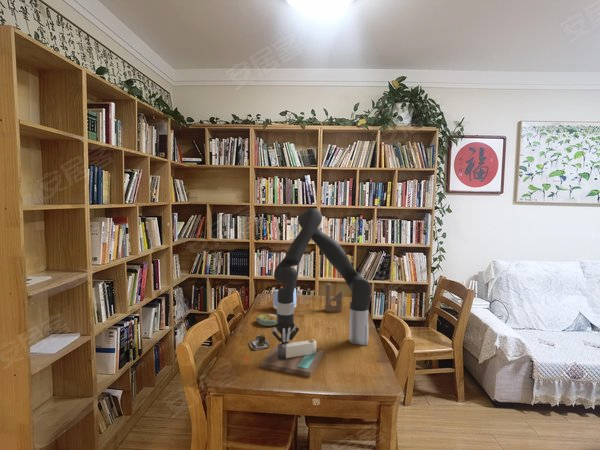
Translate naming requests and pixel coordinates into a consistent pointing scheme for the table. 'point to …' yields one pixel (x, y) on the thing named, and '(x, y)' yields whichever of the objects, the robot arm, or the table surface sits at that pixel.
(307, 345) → the white rectangular block
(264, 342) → the dark grey gadget
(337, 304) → the brown notched block
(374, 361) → the table surface
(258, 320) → the cell model
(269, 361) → the board
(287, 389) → the table surface
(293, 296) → the retro all-in-one computer
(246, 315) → the table surface
